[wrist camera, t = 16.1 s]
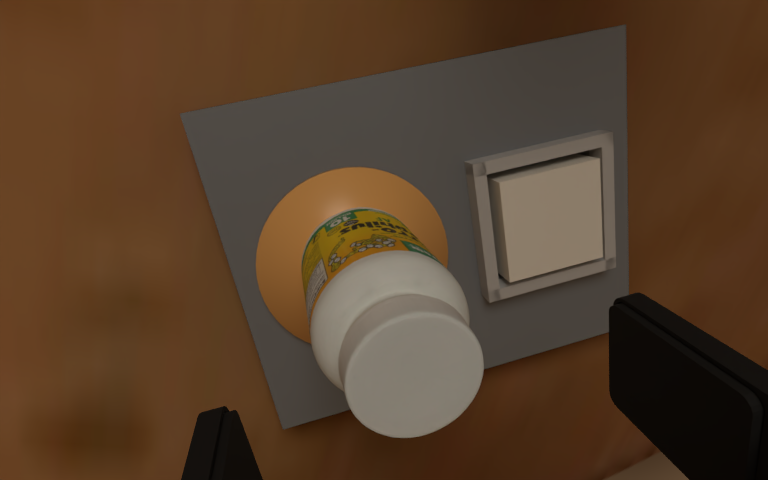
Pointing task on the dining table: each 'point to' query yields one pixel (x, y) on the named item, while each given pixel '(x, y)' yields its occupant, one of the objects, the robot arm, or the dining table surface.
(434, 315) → the supplement bottle
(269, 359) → the grey flat rectangular block
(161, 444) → the dining table surface
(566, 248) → the button
